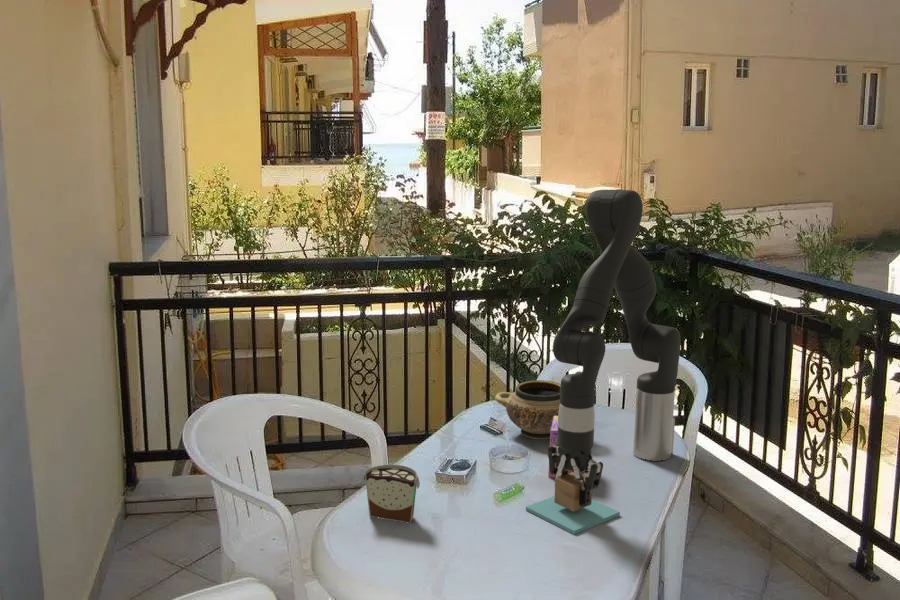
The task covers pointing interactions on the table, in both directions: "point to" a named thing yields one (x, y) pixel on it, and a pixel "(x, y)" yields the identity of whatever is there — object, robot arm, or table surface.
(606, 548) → the table surface
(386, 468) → the food container
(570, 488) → the cube
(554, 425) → the box
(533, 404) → the ceramic bowl
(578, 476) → the robot arm
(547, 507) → the mat
